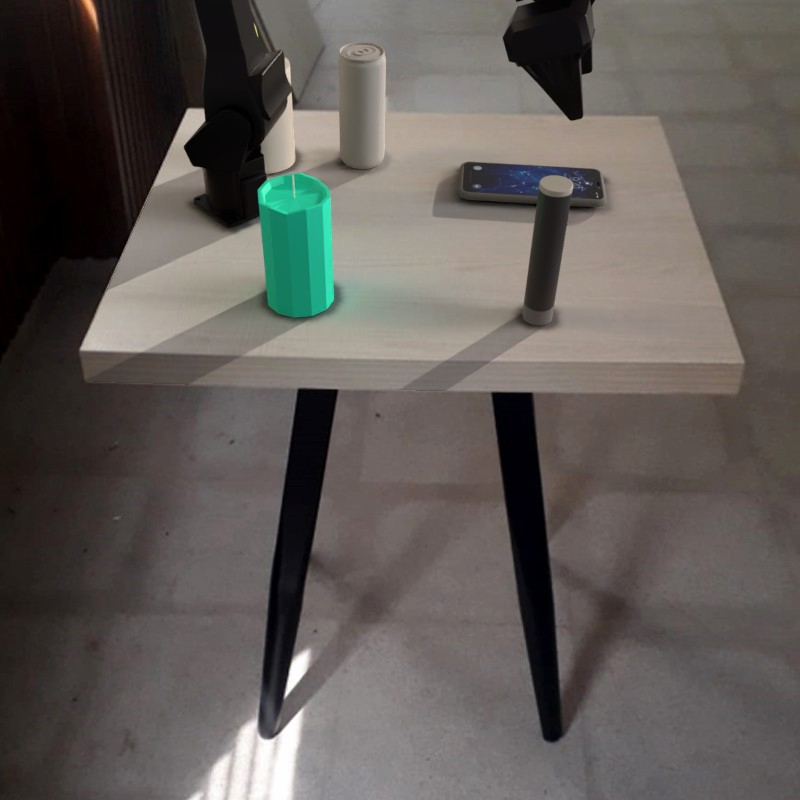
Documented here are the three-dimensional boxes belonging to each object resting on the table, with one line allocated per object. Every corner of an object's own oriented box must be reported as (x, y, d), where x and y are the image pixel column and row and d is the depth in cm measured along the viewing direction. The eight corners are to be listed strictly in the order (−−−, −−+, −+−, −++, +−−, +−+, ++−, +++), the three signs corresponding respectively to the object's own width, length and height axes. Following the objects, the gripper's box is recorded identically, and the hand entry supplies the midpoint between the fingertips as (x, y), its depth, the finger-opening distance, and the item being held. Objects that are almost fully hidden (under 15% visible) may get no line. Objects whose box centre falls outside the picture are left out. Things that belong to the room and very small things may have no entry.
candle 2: (274, 275, 87) (264, 154, 79) (339, 280, 87) (335, 160, 78) (259, 314, 82) (247, 191, 74) (328, 320, 82) (323, 197, 74)
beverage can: (331, 159, 103) (327, 49, 95) (364, 145, 106) (364, 37, 98) (359, 176, 101) (359, 64, 93) (393, 161, 103) (395, 52, 95)
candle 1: (300, 146, 105) (293, 8, 95) (289, 175, 100) (280, 33, 90) (244, 142, 106) (231, 4, 96) (230, 171, 101) (214, 29, 91)
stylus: (515, 315, 83) (532, 182, 74) (535, 304, 84) (554, 171, 76) (538, 329, 82) (558, 195, 73) (558, 317, 83) (580, 184, 74)
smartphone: (460, 159, 102) (602, 167, 101) (460, 167, 102) (600, 175, 102) (458, 193, 96) (608, 202, 95) (457, 202, 97) (606, 210, 96)
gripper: (640, -100, 62) (679, 123, 70) (650, -164, 75) (681, 29, 84) (476, -50, 66) (532, 154, 75) (514, -119, 79) (557, 60, 88)
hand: (581, 95), depth 80 cm, fingers open, 9 cm apart
